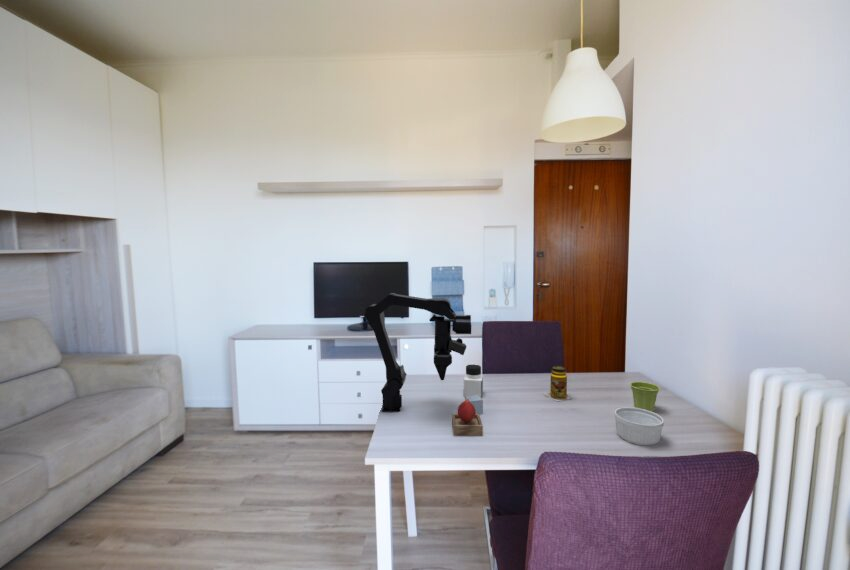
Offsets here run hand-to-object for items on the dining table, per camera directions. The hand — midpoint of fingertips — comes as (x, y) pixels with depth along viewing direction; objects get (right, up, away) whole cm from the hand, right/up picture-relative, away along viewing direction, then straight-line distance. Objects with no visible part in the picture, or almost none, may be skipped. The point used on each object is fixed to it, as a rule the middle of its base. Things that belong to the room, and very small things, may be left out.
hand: (442, 375), depth 136 cm
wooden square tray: (+7, -14, -14) cm, 21 cm away
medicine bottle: (+13, -12, +17) cm, 24 cm away
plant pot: (+73, -12, +1) cm, 74 cm away
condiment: (+46, -12, +14) cm, 50 cm away
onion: (+7, -12, -14) cm, 20 cm away
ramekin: (+59, -14, -20) cm, 64 cm away
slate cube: (+11, -13, 0) cm, 17 cm away
